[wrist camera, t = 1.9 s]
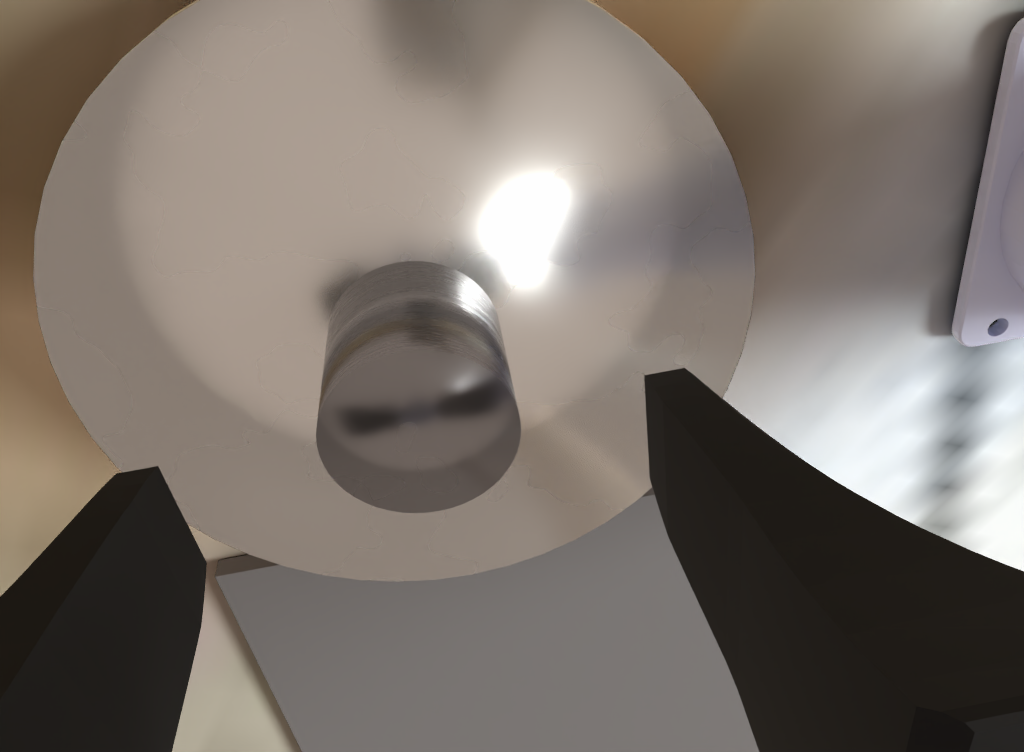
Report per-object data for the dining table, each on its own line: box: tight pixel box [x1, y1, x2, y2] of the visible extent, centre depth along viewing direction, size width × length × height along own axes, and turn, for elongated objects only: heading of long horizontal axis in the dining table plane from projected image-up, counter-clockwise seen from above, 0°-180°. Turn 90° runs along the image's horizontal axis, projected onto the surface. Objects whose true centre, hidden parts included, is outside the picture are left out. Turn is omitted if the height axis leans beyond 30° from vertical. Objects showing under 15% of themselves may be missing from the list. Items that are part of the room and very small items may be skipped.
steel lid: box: [33, 0, 755, 582], centre depth 15 cm, size 13×13×4 cm
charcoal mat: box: [215, 488, 759, 752], centre depth 27 cm, size 16×16×1 cm
